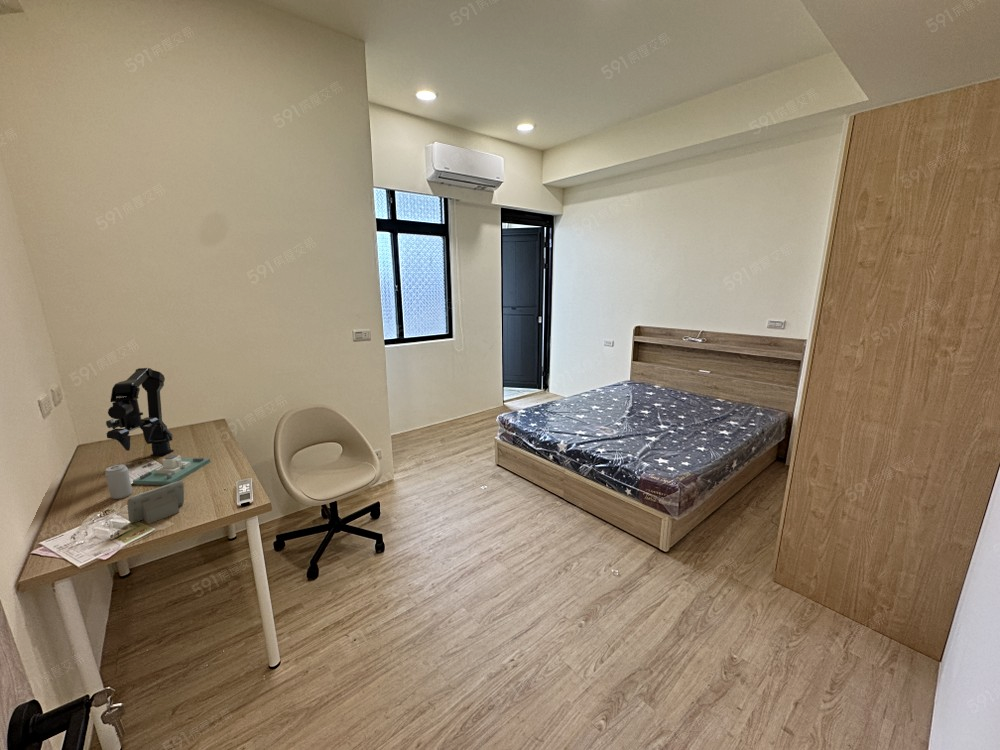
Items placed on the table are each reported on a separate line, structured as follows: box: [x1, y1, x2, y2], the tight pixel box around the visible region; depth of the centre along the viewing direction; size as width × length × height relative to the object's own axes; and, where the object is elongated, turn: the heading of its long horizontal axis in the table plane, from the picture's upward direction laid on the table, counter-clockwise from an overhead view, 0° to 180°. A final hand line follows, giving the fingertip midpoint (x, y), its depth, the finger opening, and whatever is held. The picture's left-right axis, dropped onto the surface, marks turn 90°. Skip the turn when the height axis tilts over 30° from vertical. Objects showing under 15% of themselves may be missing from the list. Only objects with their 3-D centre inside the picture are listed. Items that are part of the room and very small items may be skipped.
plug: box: [161, 454, 183, 469], centre depth 176 cm, size 4×6×7 cm
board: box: [132, 457, 211, 486], centre depth 176 cm, size 22×16×3 cm
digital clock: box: [126, 480, 185, 524], centre depth 144 cm, size 16×9×11 cm, turn 136°
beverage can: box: [104, 464, 134, 500], centre depth 156 cm, size 6×6×12 cm
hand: (137, 446), depth 174 cm, fingers open, 9 cm apart
